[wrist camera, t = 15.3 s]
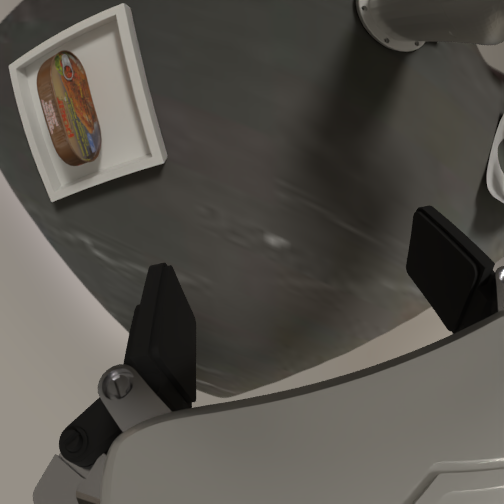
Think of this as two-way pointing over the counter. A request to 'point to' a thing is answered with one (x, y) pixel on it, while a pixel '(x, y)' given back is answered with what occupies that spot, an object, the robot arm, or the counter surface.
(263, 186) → the counter surface
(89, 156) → the tin
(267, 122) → the counter surface
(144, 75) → the white tray
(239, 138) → the counter surface
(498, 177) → the bowl
